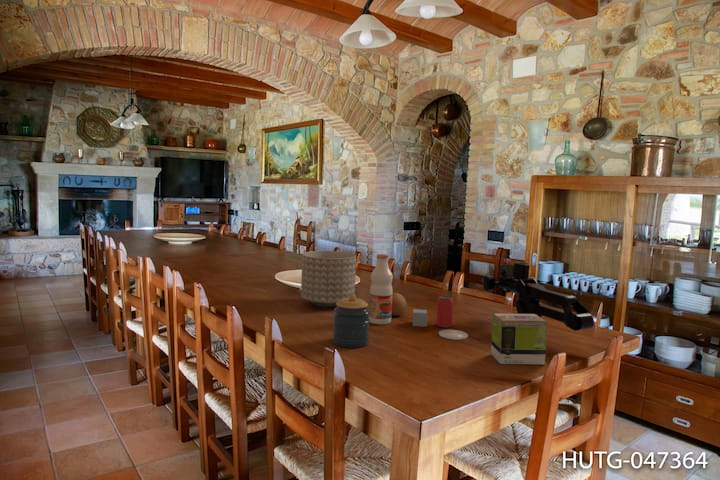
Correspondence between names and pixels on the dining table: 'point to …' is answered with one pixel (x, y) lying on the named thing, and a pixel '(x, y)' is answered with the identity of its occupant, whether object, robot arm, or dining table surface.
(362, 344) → the canister
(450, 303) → the beer can
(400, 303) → the onion
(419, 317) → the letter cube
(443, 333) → the coaster
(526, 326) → the tea box
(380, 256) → the fruit juice
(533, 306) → the robot arm
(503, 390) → the dining table surface
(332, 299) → the planter
